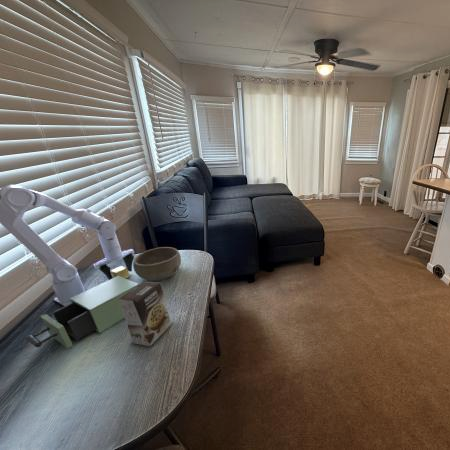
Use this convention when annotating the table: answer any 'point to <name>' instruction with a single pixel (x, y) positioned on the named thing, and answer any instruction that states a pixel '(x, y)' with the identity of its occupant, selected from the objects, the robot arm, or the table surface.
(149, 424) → the table surface
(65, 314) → the drawer
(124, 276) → the block
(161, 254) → the bowl
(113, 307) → the pale mint box
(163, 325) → the brown food box
